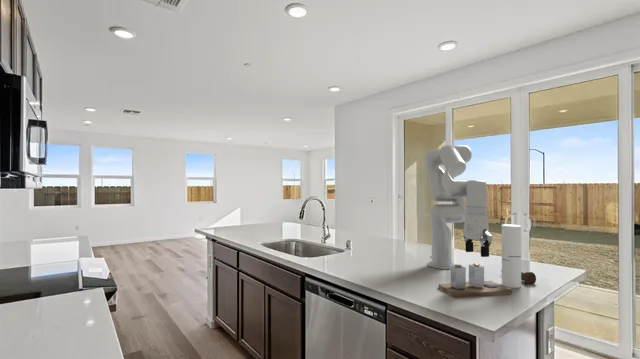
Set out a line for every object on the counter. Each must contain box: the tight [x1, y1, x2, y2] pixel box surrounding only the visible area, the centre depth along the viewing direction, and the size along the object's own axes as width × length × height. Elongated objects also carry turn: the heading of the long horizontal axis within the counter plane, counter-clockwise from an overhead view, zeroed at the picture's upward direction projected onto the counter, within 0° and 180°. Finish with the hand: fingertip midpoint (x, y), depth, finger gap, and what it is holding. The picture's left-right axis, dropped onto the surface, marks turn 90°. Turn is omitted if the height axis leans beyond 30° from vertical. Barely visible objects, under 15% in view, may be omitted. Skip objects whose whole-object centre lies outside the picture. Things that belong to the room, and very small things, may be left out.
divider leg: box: [468, 262, 485, 288], centre depth 134 cm, size 4×4×9 cm
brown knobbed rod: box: [500, 269, 537, 286], centre depth 149 cm, size 6×5×15 cm
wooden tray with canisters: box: [438, 263, 513, 299], centre depth 134 cm, size 12×24×11 cm, turn 100°
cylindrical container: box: [501, 223, 522, 289], centre depth 142 cm, size 7×7×25 cm
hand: (476, 254), depth 134 cm, fingers open, 9 cm apart
